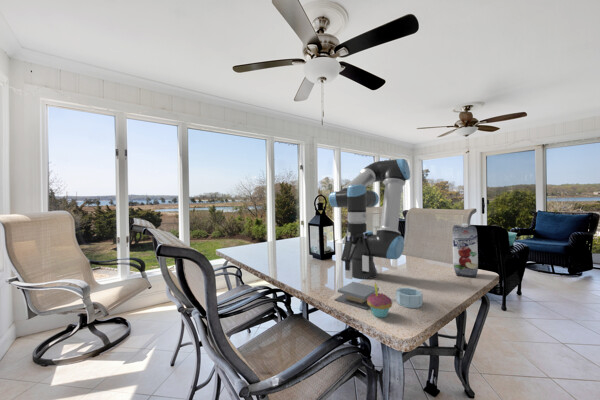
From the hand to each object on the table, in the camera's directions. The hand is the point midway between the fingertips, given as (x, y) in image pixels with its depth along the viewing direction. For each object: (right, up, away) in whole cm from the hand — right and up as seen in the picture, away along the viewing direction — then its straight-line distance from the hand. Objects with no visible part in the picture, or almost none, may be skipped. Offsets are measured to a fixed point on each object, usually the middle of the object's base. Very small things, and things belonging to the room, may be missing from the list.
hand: (357, 274), depth 102 cm
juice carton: (+63, -9, +29) cm, 70 cm away
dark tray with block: (0, -10, 0) cm, 10 cm away
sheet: (0, -7, 0) cm, 7 cm away
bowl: (+19, -10, -4) cm, 22 cm away
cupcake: (+5, -10, -13) cm, 17 cm away
